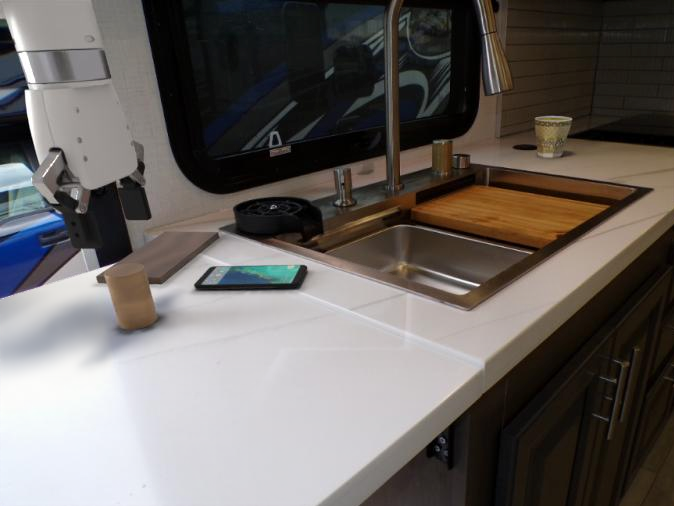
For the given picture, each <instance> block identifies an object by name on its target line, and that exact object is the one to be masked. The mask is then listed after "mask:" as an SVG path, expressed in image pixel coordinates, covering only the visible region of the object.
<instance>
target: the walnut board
mask: <svg viewBox="0 0 674 506" xmlns="http://www.w3.org/2000/svg"><path fill="white" fill-rule="evenodd" d="M219 238H220V235H219V231H169V230H167V231H164V232H162V233H161V234H159V235H158V236H156V237H154V238H153V239H152V240H150V241H148V242H147V243H145V244H144V245H142V246H141V247H139V248H137V249H136V250H135V251H132V252H131V253H129V254H128V255H126V256H125V257H124V258H122V259H120V260H119V261H117V262H116V263H114V264H112V266H109V267H108V268H107V269H105V270H104V271H102V272H100V273H99V274H97V275H96V276H95V278H96V282H97V283H99V284H100V283H103V284H105V283H106V279H105V276H104V273H105V271H106V270H108V269H110V268H112V267H115V266H118V265H122V264H128V263H139V264H142V265H144V267H145V271H146V275H147V278H148V282H149V285H151V284H153V285H162V284H164V283H165V282H166V281H167V280H168V279H170V278H171V277H172V276H173V275H174V274H176V273H177V272H178V271H179V270H181V269H182V268H183V267H185V266H186V265H187V264H189V262H190V261H192V260H193V259H194V258H195V257H197V256H199V254H201V253H202V252H203V251H204V250H205V249H206V248H208V247H209V246H210V245H212V244H213V243H214V242H215V241H216V240H217V239H219ZM106 284H107V283H106Z"/></svg>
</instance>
